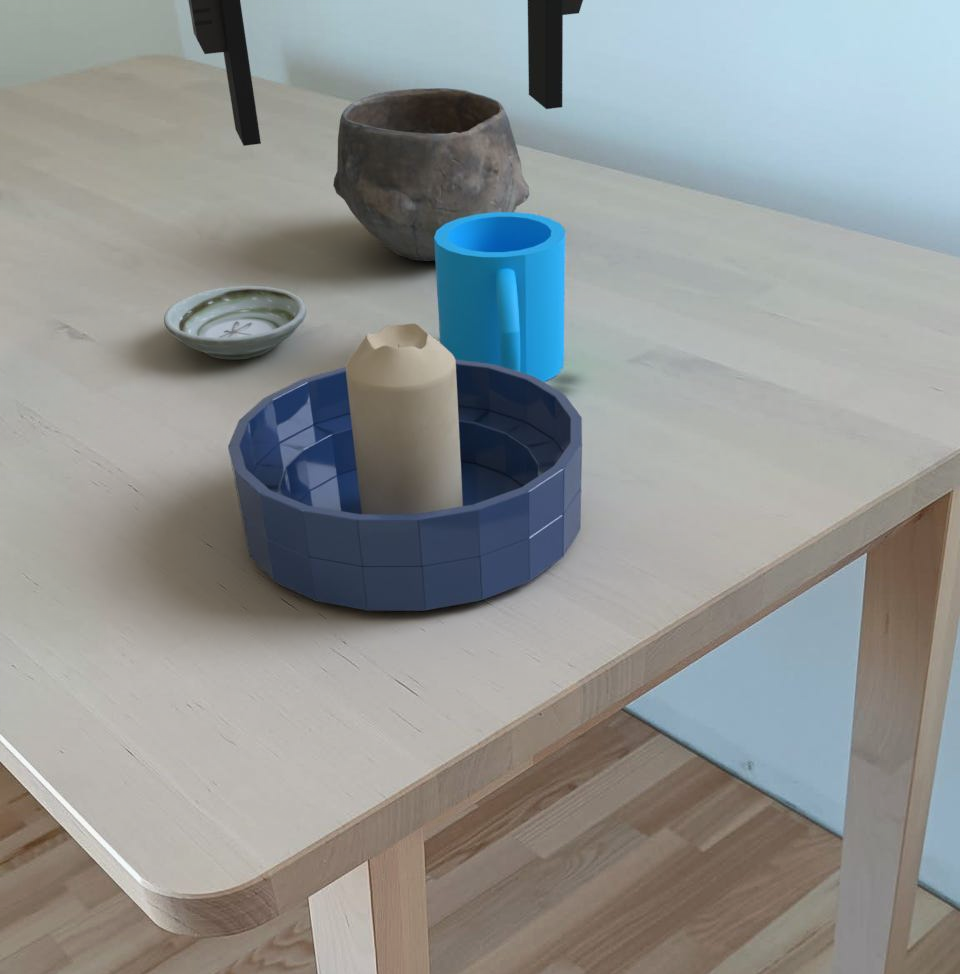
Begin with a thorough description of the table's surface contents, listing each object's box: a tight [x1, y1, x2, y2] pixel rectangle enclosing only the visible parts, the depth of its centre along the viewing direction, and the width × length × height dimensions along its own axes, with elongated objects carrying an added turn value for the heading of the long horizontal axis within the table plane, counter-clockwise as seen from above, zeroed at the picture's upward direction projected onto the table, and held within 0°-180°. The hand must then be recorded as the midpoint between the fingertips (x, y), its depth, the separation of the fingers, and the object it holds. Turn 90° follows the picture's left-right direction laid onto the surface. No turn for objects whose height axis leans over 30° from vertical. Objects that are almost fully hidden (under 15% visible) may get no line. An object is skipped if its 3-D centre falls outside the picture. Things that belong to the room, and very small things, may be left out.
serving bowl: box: [227, 359, 583, 612], centre depth 68 cm, size 18×18×6 cm
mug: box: [434, 211, 566, 383], centre depth 80 cm, size 12×8×8 cm
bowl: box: [332, 87, 530, 262], centre depth 97 cm, size 14×15×10 cm
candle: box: [345, 323, 463, 514], centre depth 66 cm, size 6×6×10 cm
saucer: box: [163, 285, 307, 361], centre depth 87 cm, size 10×10×2 cm
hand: (399, 119), depth 57 cm, fingers open, 13 cm apart
